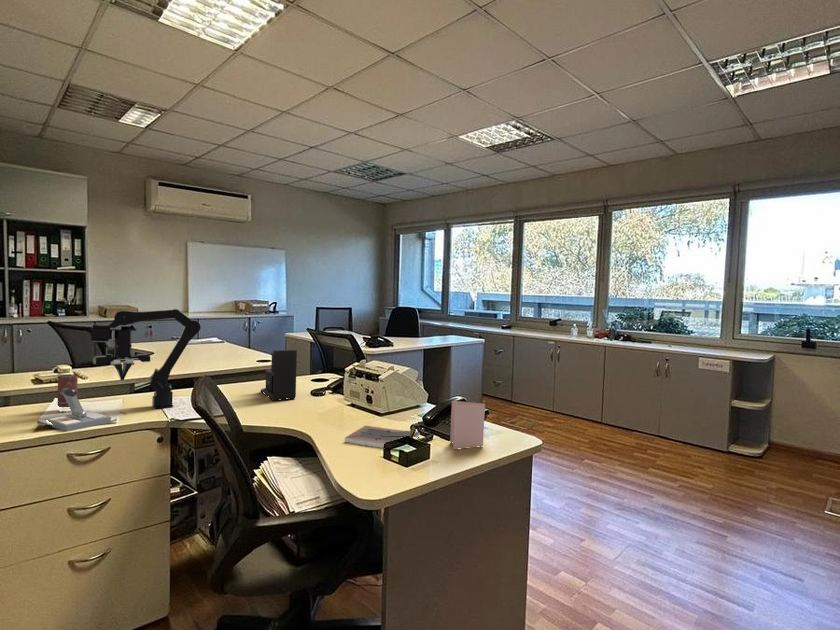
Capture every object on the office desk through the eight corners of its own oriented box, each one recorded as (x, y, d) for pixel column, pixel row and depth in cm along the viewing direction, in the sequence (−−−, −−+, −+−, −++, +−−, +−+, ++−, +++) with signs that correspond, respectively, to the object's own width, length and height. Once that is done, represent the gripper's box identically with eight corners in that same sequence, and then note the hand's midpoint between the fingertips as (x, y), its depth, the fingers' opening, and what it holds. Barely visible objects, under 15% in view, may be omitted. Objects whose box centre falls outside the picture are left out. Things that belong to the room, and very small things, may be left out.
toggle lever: (79, 413, 165) (66, 386, 161) (87, 415, 162) (74, 388, 158) (72, 416, 163) (59, 390, 159) (80, 419, 161) (67, 392, 156)
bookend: (260, 391, 227) (261, 345, 226) (281, 390, 233) (283, 344, 232) (272, 401, 207) (274, 350, 207) (296, 399, 213) (297, 350, 212)
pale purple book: (419, 439, 163) (364, 431, 170) (419, 432, 163) (365, 424, 170) (404, 453, 148) (344, 444, 154) (404, 445, 148) (344, 437, 154)
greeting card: (483, 446, 156) (485, 403, 156) (481, 453, 149) (483, 408, 148) (450, 442, 159) (452, 400, 158) (446, 449, 152) (448, 404, 151)
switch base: (89, 416, 172) (89, 410, 172) (110, 422, 166) (110, 416, 166) (45, 424, 160) (45, 418, 159) (66, 431, 153) (66, 424, 153)
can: (81, 409, 181) (82, 374, 181) (67, 413, 175) (68, 377, 175) (67, 408, 182) (68, 373, 182) (53, 412, 176) (53, 376, 175)
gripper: (143, 339, 194) (142, 375, 195) (90, 340, 181) (89, 379, 182) (151, 341, 187) (150, 379, 187) (96, 343, 173) (95, 383, 174)
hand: (122, 380), depth 183 cm, fingers closed
